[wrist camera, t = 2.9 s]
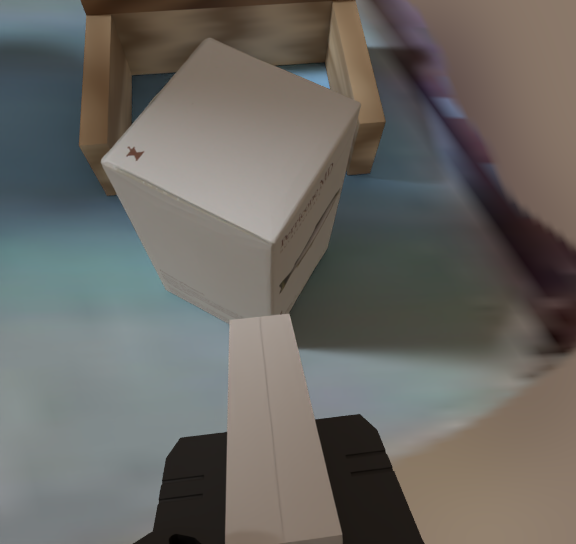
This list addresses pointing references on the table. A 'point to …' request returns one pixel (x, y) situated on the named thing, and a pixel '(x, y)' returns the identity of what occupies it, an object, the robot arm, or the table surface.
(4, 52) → the table surface
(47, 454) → the table surface
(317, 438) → the robot arm
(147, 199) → the supplement box
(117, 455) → the table surface
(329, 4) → the brown wooden frame
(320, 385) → the table surface
